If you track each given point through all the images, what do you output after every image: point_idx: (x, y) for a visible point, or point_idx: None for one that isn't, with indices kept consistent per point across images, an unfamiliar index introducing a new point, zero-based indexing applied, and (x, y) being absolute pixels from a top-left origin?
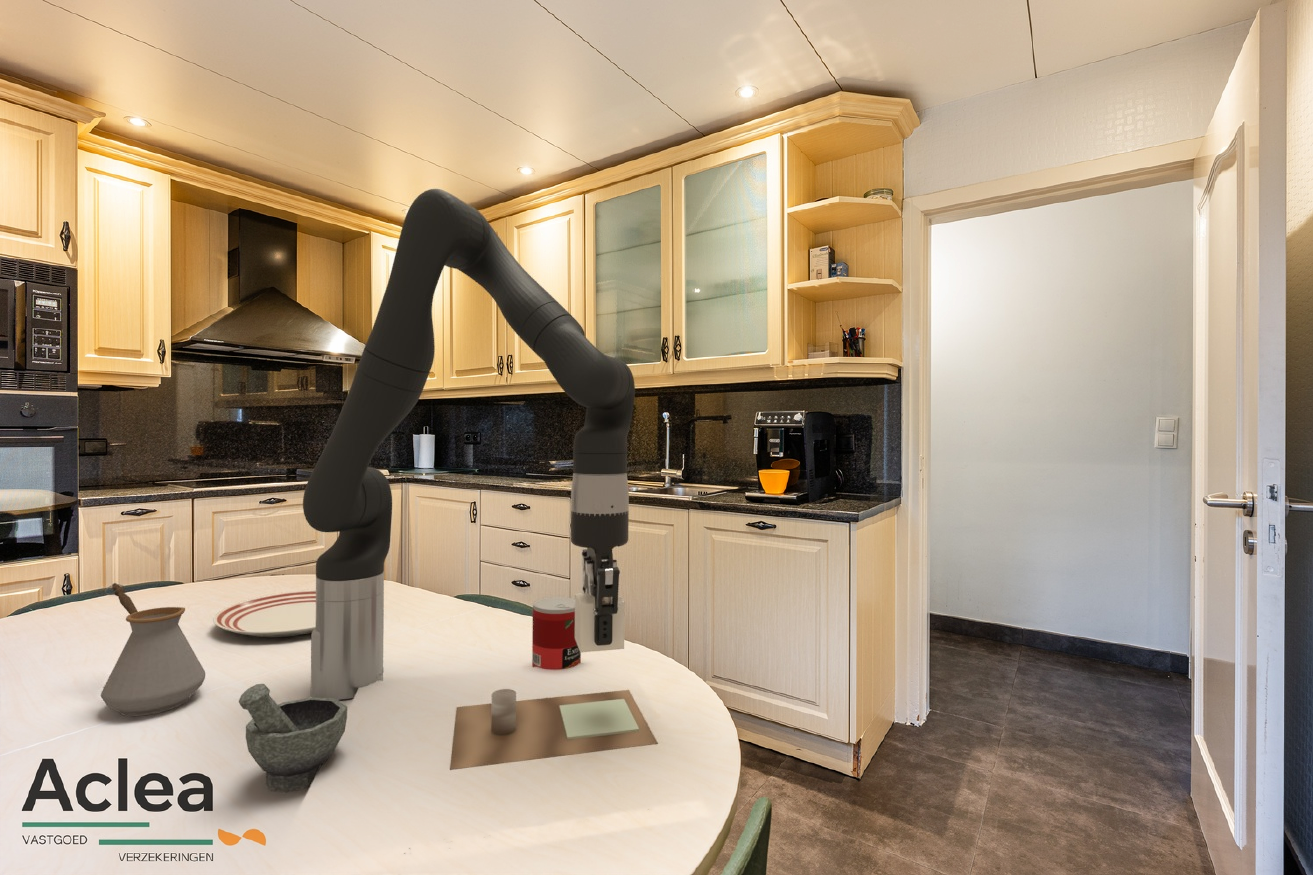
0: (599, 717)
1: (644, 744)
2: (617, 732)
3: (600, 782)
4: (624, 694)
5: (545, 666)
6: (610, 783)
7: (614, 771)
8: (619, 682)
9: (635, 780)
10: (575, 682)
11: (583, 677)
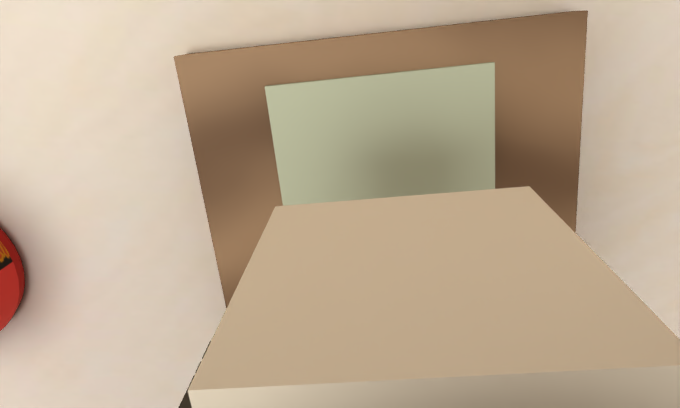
0: (392, 179)
1: (580, 56)
2: (494, 133)
3: (652, 184)
4: (213, 77)
5: (3, 319)
6: (665, 161)
7: (614, 146)
8: (41, 70)
9: (675, 96)
10: (52, 215)
11: (9, 188)
